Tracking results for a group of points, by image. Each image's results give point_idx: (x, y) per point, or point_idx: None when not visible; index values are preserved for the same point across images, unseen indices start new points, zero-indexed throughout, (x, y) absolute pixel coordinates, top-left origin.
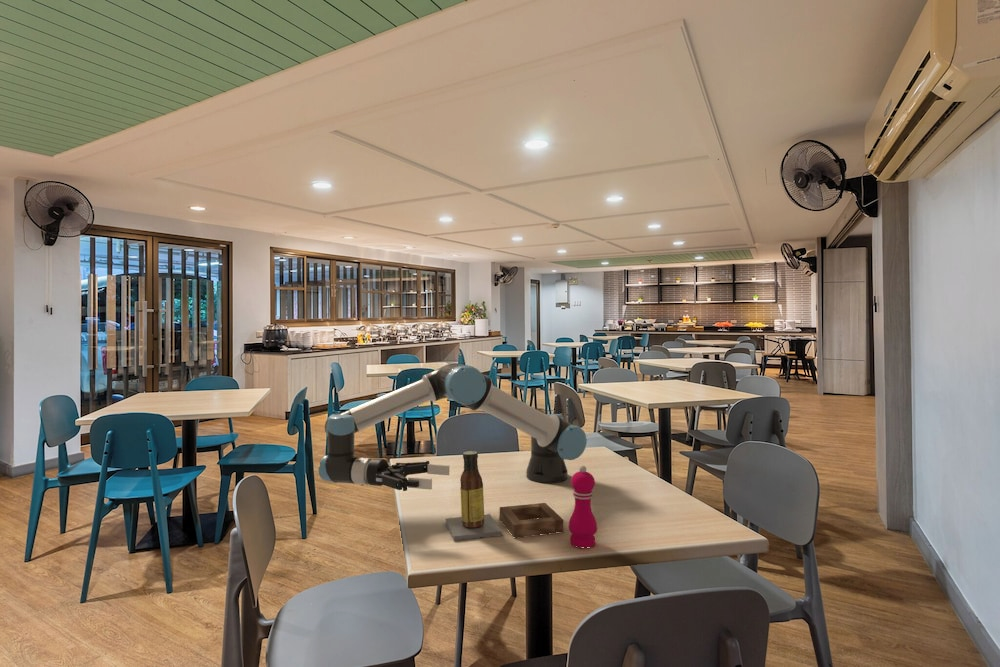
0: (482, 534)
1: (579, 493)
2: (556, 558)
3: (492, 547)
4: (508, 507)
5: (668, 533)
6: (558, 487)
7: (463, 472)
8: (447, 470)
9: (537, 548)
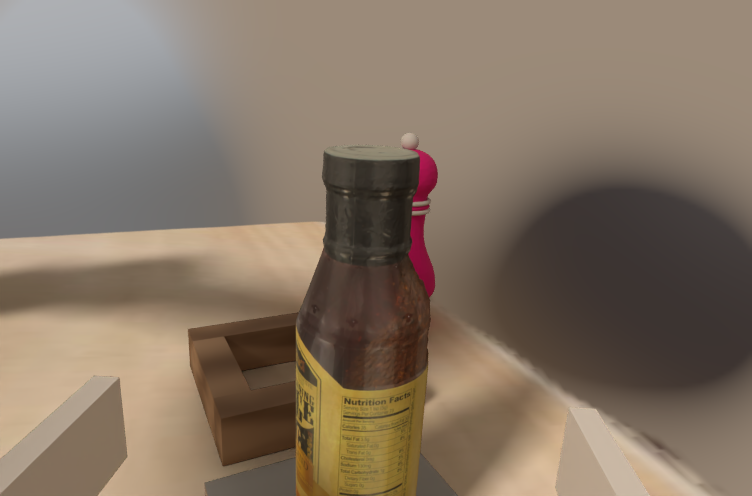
0: (442, 482)
1: (426, 200)
2: (499, 347)
3: (510, 456)
4: (227, 396)
5: (316, 256)
6: None
7: (391, 284)
8: (115, 423)
9: (460, 372)
